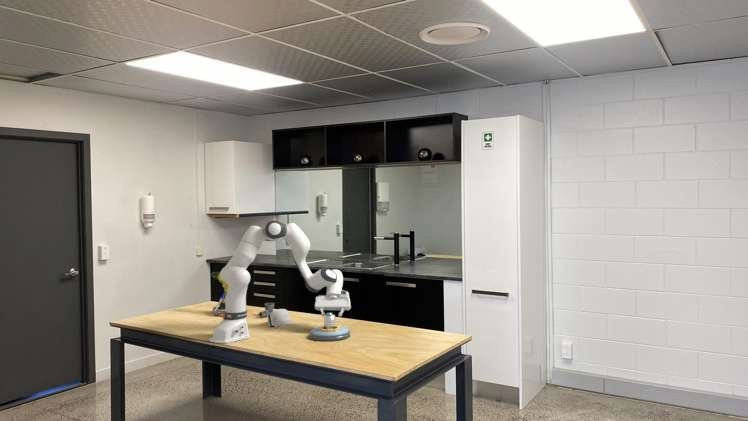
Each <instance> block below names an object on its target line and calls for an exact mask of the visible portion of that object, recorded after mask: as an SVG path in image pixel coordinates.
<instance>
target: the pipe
mask: <svg viewBox="0 0 748 421" xmlns="http://www.w3.org/2000/svg"><path fill="white" fill-rule="evenodd" d="M274 308H275V302H266V303H264V310H263V311H259V313H258V316H259V318H267V315H268V314H269V313H271V312H272V311H274Z"/></svg>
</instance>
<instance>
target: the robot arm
mask: <svg viewBox="0 0 748 421" xmlns="http://www.w3.org/2000/svg"><path fill="white" fill-rule="evenodd" d="M280 239H283V240H284V241H285V242H286V243H287V244H288V246H289V247H290V249H291V251H292V254H293V255H292V259H293V261H294V264H295V266H296V268H297V269H298V271H299V274H301V277H302V278H303V281H304V283H305V286H306V288H307V289H308V291H310V292H312V293H319V291H321V290H322V289H323V288H325V287H326V292H325V293H326V294H319V295H317V296H316V297H315V302H314V309H315V310H316V311H320V312H321V317H324V315H326V313H325V311H339V312H338V317H342V316H343V313H344V312H345V311H350V310H351V309H352V305H351V299H350V292H348V291H346V290H344V289H343V286H344V285H343V284H344V276H343V273H342V271H341V270H339V269H331V268H329V267H325V266H324V267H322V268H321V269H319V270H317V271H316V272H315V273H312V271H311V269H310V267H309V266H308V263H307V261H306V259H307V255H308V253H309V251H310V249H311V242H310V239H309V238H308V236H307V235H306V234H305V232H304V231H303V230H302V229H301V228H300V227H299V226H298V225H297V224H296V223H294V222H289V223H286V224H285V223H283V222H281V221H279V220H275V219H274V220H270V221H268V222H267V223H266V224H264V226H258V225H251V226H250V227H248V229H247V230H246V231H245V233H244V234H243V236H242V238H241V241H240V242H239V244H238V247H237V248H236V251H235V252H234V254H233V255H232V256H231V258H230V259H229V261H228V262H227V263H226V265H225V266H224V267H222V269H221V271H220V272H221V273H220V277H221V279H222V280H223V282H224V283H226V284H228V291H227V295H226V297H225V296H224V297H225V308H226V311H225V313H224V314H222V313H221V314H220V315H219V316H218V317H219V318H222V320H221V321H220V322H219V324H218V325H217V326H216V327H215V328H214V330H213V336H212V337H210V338H208V341H209V342H211V343H215V344H229V343H233V342H238V341H242V340H246V339H250V331H249V327H248V321H247V320H248V319H247V317H248V311H247V291H248V287H249V284H250V282H251V274H250V272H249V271H248V270H247V269H248V267H249V266H250V265H251V264H252V263H253V262H254V261H255V258H256V257H257V254H258V253H259V250H260V248H261V246H262V244H263V242H264V241H267V242H276V241H277V240H280Z"/></svg>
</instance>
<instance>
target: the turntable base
mask: <svg viewBox="0 0 748 421" xmlns="http://www.w3.org/2000/svg"><path fill="white" fill-rule="evenodd" d="M350 337H351V331H350V330H349V329H348V333H347V334H346V335H343V336H338V337H318V336H314V335H312V331H310V333H309V339H310V340H312V341H315V342H322V343H323V342H324V343H326V342H327V343H329V342H330V343H331V342H340V341H344V340H347V339H349V338H350Z"/></svg>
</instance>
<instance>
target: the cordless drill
mask: <svg viewBox="0 0 748 421" xmlns="http://www.w3.org/2000/svg"><path fill="white" fill-rule="evenodd" d="M220 273H221V271H212V272H211V273H210V277H212V278H213V279H214V280H217V281H219V282H220V283H221V288H224V289H223V293H222V295H221V297H220V298H219V301H218V303H217V305H216V306H213V308H212V316H214V317H220V316H219V315H220V314H221V313H222V314H224V313H225V311H226V308H225V297H226V295H227V291H228V284H226V283H224V282H223V280H222V279H221V277H220Z"/></svg>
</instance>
